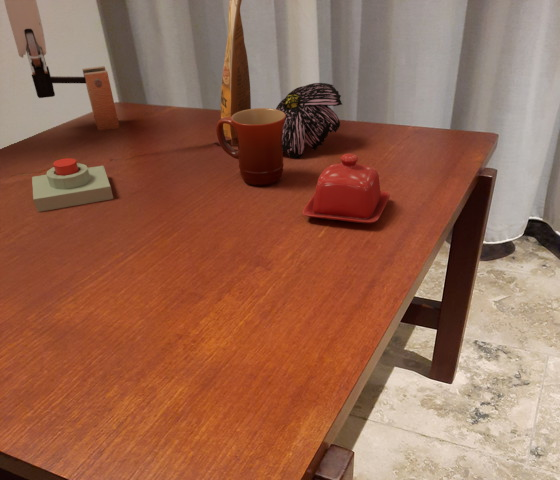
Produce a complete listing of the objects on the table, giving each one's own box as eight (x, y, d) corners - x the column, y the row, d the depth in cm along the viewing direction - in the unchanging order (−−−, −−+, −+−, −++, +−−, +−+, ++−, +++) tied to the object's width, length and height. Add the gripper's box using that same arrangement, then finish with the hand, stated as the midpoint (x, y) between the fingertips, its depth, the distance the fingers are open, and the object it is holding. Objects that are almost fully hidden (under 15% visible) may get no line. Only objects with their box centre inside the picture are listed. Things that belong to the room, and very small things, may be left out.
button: (57, 178, 89) (53, 167, 88) (55, 170, 91) (52, 160, 90) (79, 174, 90) (76, 164, 89) (78, 167, 92) (75, 156, 91)
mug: (295, 172, 96) (293, 110, 90) (276, 192, 90) (273, 126, 84) (233, 165, 100) (227, 104, 93) (210, 183, 94) (203, 120, 87)
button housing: (37, 212, 88) (29, 188, 85) (36, 189, 95) (28, 166, 92) (113, 199, 91) (107, 175, 88) (106, 177, 98) (100, 154, 95)
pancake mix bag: (258, 117, 121) (249, -42, 102) (254, 148, 106) (242, -31, 88) (228, 118, 121) (213, -41, 103) (219, 149, 107) (200, -30, 88)
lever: (41, 89, 106) (38, 75, 104) (40, 83, 110) (37, 70, 108) (106, 89, 110) (104, 76, 108) (103, 83, 113) (102, 70, 112)
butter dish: (321, 192, 90) (321, 138, 84) (391, 199, 87) (397, 144, 81) (299, 222, 82) (298, 165, 76) (376, 232, 79) (381, 173, 73)
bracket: (81, 143, 112) (64, 79, 104) (77, 129, 119) (61, 68, 111) (140, 134, 115) (128, 71, 107) (133, 121, 122) (121, 61, 114)
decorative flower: (247, 88, 103) (322, 55, 102) (263, 139, 113) (332, 110, 112) (269, 133, 95) (350, 98, 94) (285, 184, 105) (358, 152, 104)
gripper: (-6, -23, 102) (25, 85, 114) (-9, -13, 90) (26, 106, 102) (36, -26, 104) (63, 81, 116) (39, -16, 92) (68, 102, 104)
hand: (45, 92), depth 109 cm, fingers closed on lever, 5 cm apart
